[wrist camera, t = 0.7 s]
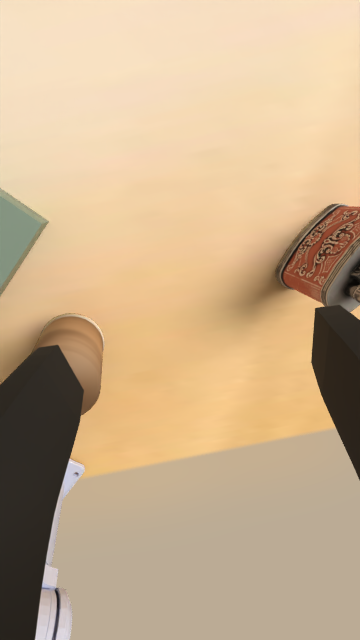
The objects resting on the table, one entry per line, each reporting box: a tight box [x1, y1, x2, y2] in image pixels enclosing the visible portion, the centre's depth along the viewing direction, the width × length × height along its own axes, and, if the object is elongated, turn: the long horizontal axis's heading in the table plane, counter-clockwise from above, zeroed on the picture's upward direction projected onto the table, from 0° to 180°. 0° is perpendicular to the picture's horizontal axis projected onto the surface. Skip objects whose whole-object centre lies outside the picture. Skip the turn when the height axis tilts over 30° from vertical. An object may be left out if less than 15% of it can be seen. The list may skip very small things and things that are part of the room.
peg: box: [31, 313, 104, 415], centre depth 23 cm, size 4×4×9 cm
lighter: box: [276, 204, 360, 312], centre depth 24 cm, size 8×3×10 cm, turn 141°
